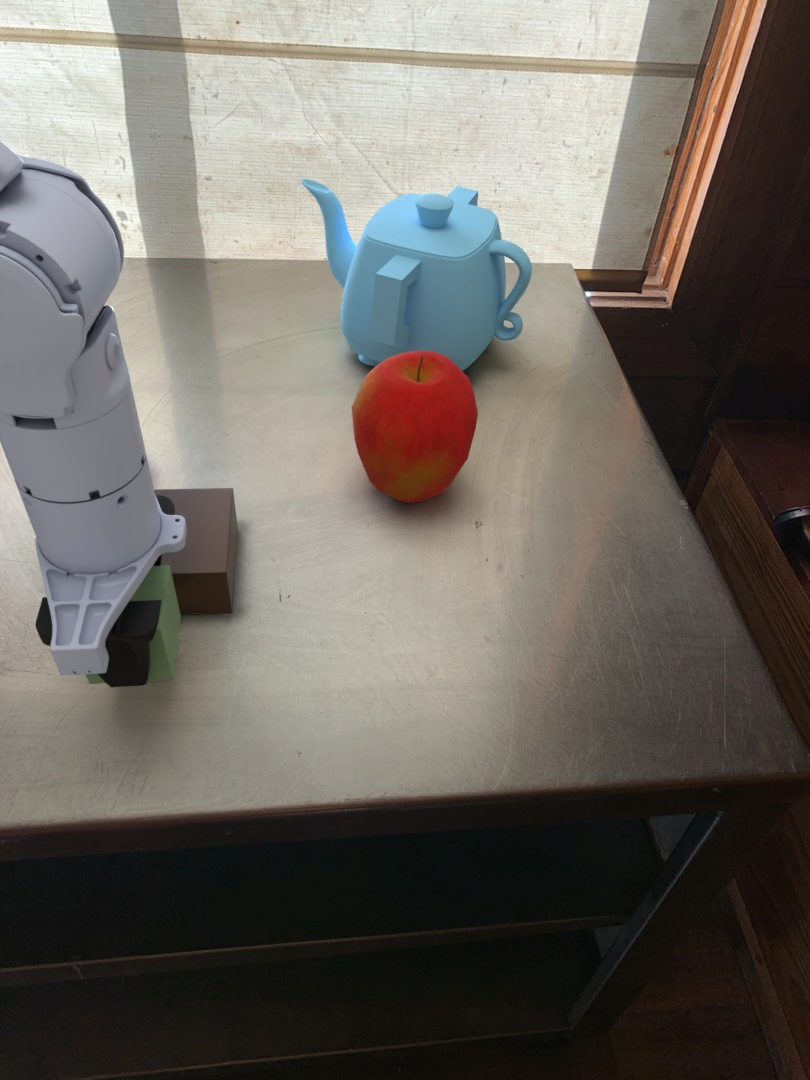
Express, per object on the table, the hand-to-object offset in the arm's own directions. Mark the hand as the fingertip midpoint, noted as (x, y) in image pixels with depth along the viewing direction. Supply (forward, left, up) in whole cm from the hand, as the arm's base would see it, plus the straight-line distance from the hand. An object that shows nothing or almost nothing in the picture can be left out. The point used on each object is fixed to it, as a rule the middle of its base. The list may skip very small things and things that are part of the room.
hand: (134, 644), depth 45 cm
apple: (+18, +17, -4) cm, 25 cm away
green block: (0, 0, 0) cm, 0 cm away
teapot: (+20, +38, -4) cm, 43 cm away
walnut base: (+1, +9, -3) cm, 10 cm away
